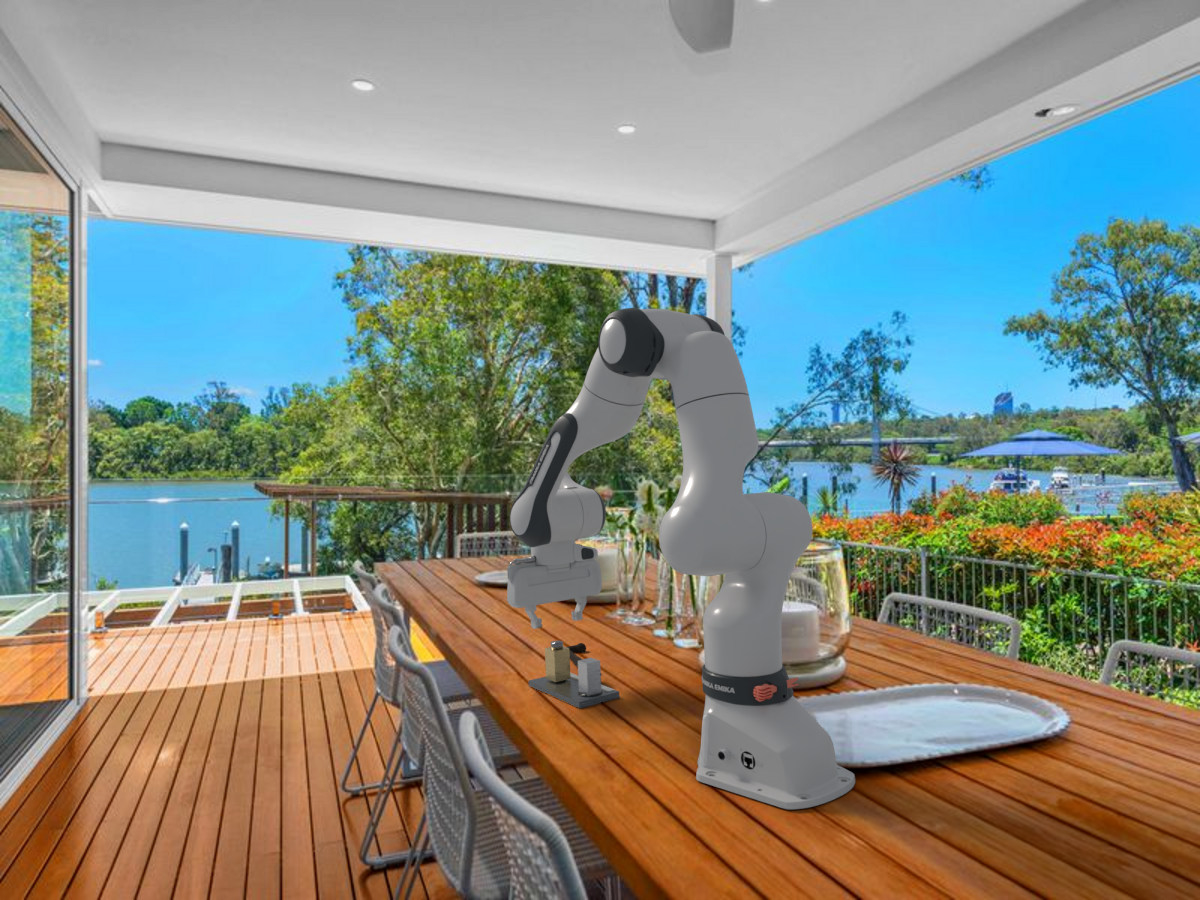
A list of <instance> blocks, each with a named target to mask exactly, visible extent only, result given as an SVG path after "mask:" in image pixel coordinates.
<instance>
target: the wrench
mask: <svg viewBox="0 0 1200 900" xmlns="http://www.w3.org/2000/svg"><path fill="white" fill-rule="evenodd" d="M566 647H567V648H569V653H570V661H573V662H572V663H573V664H574V665H575V666H576V667H577V668H578V661H579V660H583V659H584V658H583V659H582V658H581V657H580V656H578V655H577V653H576V654H575V653H573V652H584V653H585V652H586V650H587V645H585V643H584V642H579V643H577V644H574V645H569V646H566ZM601 676H603V675H602V673H601Z"/></svg>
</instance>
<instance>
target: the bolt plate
mask: <svg viewBox="0 0 1200 900" xmlns="http://www.w3.org/2000/svg"><path fill="white" fill-rule="evenodd" d="M577 674H578V675H577ZM577 674H575V673H573V672H570V677H571V679H567V680H563V681H559V682H553V681H551V680H549V679H546V676H541V677H537V678H534V679H529V680H528V687H529V686H531V687H533V688H535V689H534V690H536V689H537V690H536V691H538V690H540V691H542V692H545V693H547V694H550V695H552V696H554V697H556V698H558V699H560V700H559V701H561V700H563V701H565V702H567V703H569V704H568V705H570V704H571V706H572V705H573V706H572V707H574V706H575V708H576V707H578V708H577V709H579V708H580V709H583V708H587V707H590V706H594V705H595V706H596V705H599V704H602V703H601V702H603V703H606V702H610V701H613V699H614V700H617V699H620V691H619V690H616V689H614V688H611V687H609V686H606V685H604V684H602V679H601V678H602V675H601V674H602V670H601V660H599V659H596V658H593V657H587V658H583V660H579V661H578V667H577ZM531 687H530V688H531ZM533 688H532V689H533ZM540 691H539V692H540ZM542 692H541V693H542ZM545 693H544V694H545ZM547 694H546V695H547ZM554 697H553V698H554ZM556 698H555V699H556ZM558 699H557V700H558ZM609 700H610V701H609ZM563 701H562V702H563ZM605 701H606V702H605ZM565 702H564V703H565ZM567 703H566V704H567ZM598 703H599V704H598Z"/></svg>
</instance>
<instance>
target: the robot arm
mask: <svg viewBox="0 0 1200 900" xmlns="http://www.w3.org/2000/svg"><path fill="white" fill-rule="evenodd" d="M602 322H603V323H602V324H601V327H600V330H599V333H598V339H597V343H598V344H597V346H598V347H597V348H596V351H595V353H594V355H593V356H592V359H591V362H590V365H589V367H588V370H587V372H586V375H585V379H584V382H583V384H582V388H581V390H580V392H579V394H578V396H577V397H576V399H575V400H574V402H573V403H572V405H571V406H570V407H569V409H568V410H566V412H565V413H564V414H562V415H561V416H560V417H558V418H557V419H556V421H555V422H554V424H553V425H552V427H551V428H550V431H549V432H548V435H547V437H546V439H545V441H544V443H543V445H542V448H541V449H540V452H539V454H538V456H537V458H536V461H535V463H534V465H533V467H532V469H531V471H530V474H529V476H528V478H527V481H526V483H525V485H524V487H523V488H522V489H521V491H520V492H519V493H518V495H517V496H516V498H515V499H514V501H513V503H512V505H511V508H510V511H509V525H510V529H511V531H512V533H513V534H514V536H516V538H517V539H518V540H519V541H521V542H522V544H524V545H526V546H528V547H530V556H527V557H526V556H525V557H523V558H514V559H513V560H512V561H511V562H510V563H509V564H508V566H507V571H506V573H507V579H508V580H507V587H506V588H507V589H506V590H507V592H506V600H507V603H508V605H510V607H512V608H514V609H516V608H517V609H521V608H524V612H525V613H526V615H527V617H528V618H529V619H530V627H531V628H532V629H534V630H535V629H540V628H541V629H542V627H543V624H542V623H543V619H542V618H540V617H538V616H537V615H536V613H535V612H536V611H537V606H538V605H546V604H552V603H556V602H561V601H563V602H564V601H569V600H575V602H576V606H575V608H574V610H572V611H571V620H572V621H575V622H576V621H578V622H579V621H582V620H583V610H584V609H585V607H586V605H587V602H588V601H587V598H588V597H591V596H597V595H600V592H601V591H602V589H603V588H602V587H603V582H602V580H603V579H602V570H601V566H600V564H599V561H597V560H596V559H597V558H598V553H599V552H598V549H597V548H595V547H591V546H587V545H583V544H580V543H576V540H581V539H589V538H592V537H594V536H597V535H599V533H600V532H601V531H602V529H603V528H604V525H605V523H606V518H607V511H606V510H607V508H606V504H605V501H604V500H603V498H602V496H601V495H600V494H599V492H598V491H596V490H595V489H593V488H588V487H586V486H583V485H580V484H579V483H578V482H575V481H574V480H573V479H572V478H571V476H570V475H571V474H569V472H568V469H569V467H570V466H571V464H572V463H573V462H574V461H575V460H576V459H577V458H579V457H580V456H581V455H582V456H583V454H585V453H587V452H589V451H591V450H592V449H596V448H597V447H600V446H604V445H606V444H608V443H612V442H615V441H617V440H620V439H621V438H623V437H625V436H627V434H628V433H630V432H631V431H632V429H633V428H634V427H635V425H636V424H637V422H638V420H639V418H640V416H641V413H642V410H643V406H644V404H645V401H646V397H647V396H648V395H647V394H648V391H649V388H650V384H651V382H652V380H653V379H658V380H660V381H663V380H664V381H668V382H669V383H670V385H671V390H672V394H673V401H674V407H675V413H676V418H677V424H678V425H677V426H678V432H679V435H680V436H679V437H680V443H681V449H682V451H681V452H682V466H683V467H682V475H681V482H680V487H679V490H678V493H677V496H676V498H675V501H674V502H673V503H672V505H671V506H670V508H669V509H668V510H667V512H666V513H665V514H664V516H663V518H662V520H661V523H660V526H659V530H658V542H659V548H660V550H661V554H662V556H663V558H664V560H665V561H666V562H667V564H668V565H669V566H670V567H671V568H672V570H674V571H675V572H677V573H679V574H683V575H689V576H699V577H713V576H720V575H724V579H723V582H722V584H721V586H720V590H719V591H718V593H717V594H716V596H715V597H714V598H713V599H712V601H710V602H709V603H708V605H707V607H706V608H705V610H704V613H703V617H702V618H703V619H702V624H703V625H702V626H703V627H702V628H703V650H704V652H703V653H704V664H703V665H702V666H701V667H702V670H701V672H702V674H701V682H702V691H703V693H704V694H705V697H704V698H705V699H704V700H705V701H704V709H703V714H702V724H701V735H700V736H701V737H700V738H701V739H700V740H701V741H700V749H699V754H698V758H697V766H698V767H697V769H696V776H695V778H696V780H697V781H698V782H700V783H703V784H707V785H709V786H711V787H712V786H713V787H716V788H719V789H722V790H725V791H728V792H731V793H734V794H737V795H740V796H743V797H746V798H749V799H753V800H756V801H758V802H761V803H766V804H768V805H771V806H775V807H778V808H781V809H784V810H800V809H808V808H812V807H816V806H820V805H823V804H826V803H829V802H831V801H833V800H835V799H838V798H840V797H841V796H844V795H846V794H847V793H848V792H850V791H851V790H852V789H853V788H854V786H855V784H856V776H855V773H853V772H852V771H850V770H848V769H846V768H844V767H843V766H841V765H839V764H838V763H837V757H836V751H835V746H834V743H833V740H832V738H831V735H830V733H829V732H828V731H827V730H825V728H824V727H823V726H822V725H821V724H820V723H819V722H818V721H817V720H816V719H815V718H814V717H813V716H812V715H811V714H810V713H809V711H807V710H806V708H805V707H804V706H803V705H802V703H800V702H799V701H798V699H797V698H796V697H795V696H794V690H793V688H794V687H796V686H799V683H795V682H797V681H798V680H799V677H793V678H790V677H789V674H788V673H787V669H786V667H785V665H784V664H783V651H782V647H783V646H782V645H783V644H782V643H783V641H782V618H783V617H782V614H783V609H784V608H783V606H784V601H785V596H786V592H787V589H788V586H789V582H790V578H791V576H792V573H793V570H794V568H795V567H796V564H797V562H798V561H799V559H800V558H801V556H802V555H803V554H804V553H805V551H806V550H807V549H808V547H809V545H810V543H811V541H812V539H813V538H812V537H813V522H812V518H811V515H810V513H809V511H808V509H807V507H806V506H805V504H804V503H803V502H801V501H800V500H799V499H797V498H796V497H794V496H792V495H791V496H790V495H786V494H781V493H777V492H776V493H775V492H770V491H769V492H768V491H764V492H763V491H762V492H753V493H744V491H743V490H744V489H743V488H744V487H743V486H744V485H743V481H744V474H745V469H746V467H747V464H748V463H750V462H751V460H752V459H753V458H754V457H756V455H757V452H758V450H759V438H758V432H757V428H756V423H755V417H754V413H753V408H752V404H751V398H750V394H749V393H750V392H749V389H748V386H747V381H746V378H745V374H744V372H743V369H742V365H741V362H740V359H739V357H738V354H737V353H736V349H735V347H734V345H733V343H732V341H731V340H730V339H729V337H727V336H726V335H725V332H724V330H723V328H722V327H721V325H720V324H719V323H718V322H717V321H715V320H714V319H711V318H710V317H708V316H704V315H701V314H698V313H697V314H690V313H685V312H680V311H675V310H671V309H668V308H667V309H666V308H637V307H628V308H620V309H618V310H615V311H611V313H609V314H608V315H607V316H606V317H605V319H604V321H602Z"/></svg>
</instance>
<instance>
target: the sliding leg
mask: <svg viewBox="0 0 1200 900" xmlns="http://www.w3.org/2000/svg"><path fill="white" fill-rule="evenodd" d="M567 647H568V646H564V641H562V640H553V641H551V642H550V646H549V647H545V648H544V659H545V660H544V661H545V662H544V663H545V677H546V679H549V680H551V681H553V682H559V681H563V680H567V679H571V677H570V673H571V662H570V661H571V659H570V653H569V648H567Z"/></svg>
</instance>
